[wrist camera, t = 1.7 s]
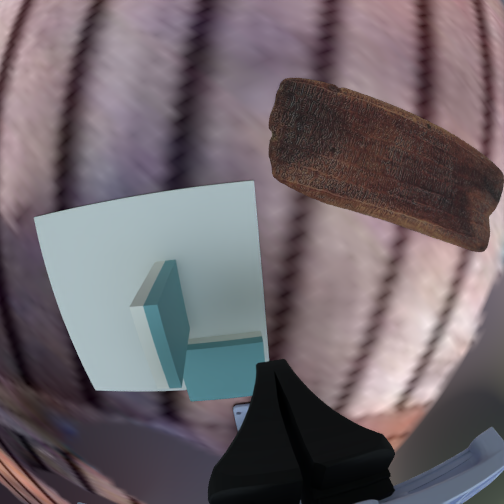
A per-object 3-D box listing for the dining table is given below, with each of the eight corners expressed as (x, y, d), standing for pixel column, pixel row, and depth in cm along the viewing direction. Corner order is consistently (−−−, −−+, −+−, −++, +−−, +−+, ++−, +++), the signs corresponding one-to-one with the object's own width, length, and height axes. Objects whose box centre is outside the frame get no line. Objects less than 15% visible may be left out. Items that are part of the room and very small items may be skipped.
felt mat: (270, 378, 26) (270, 381, 26) (96, 387, 25) (95, 390, 24) (253, 180, 20) (253, 180, 20) (36, 216, 19) (33, 217, 19)
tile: (189, 328, 23) (181, 387, 16) (171, 330, 23) (157, 388, 16) (175, 259, 21) (157, 304, 14) (155, 261, 21) (129, 306, 14)
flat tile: (265, 381, 26) (267, 393, 24) (191, 389, 25) (190, 401, 24) (260, 330, 24) (263, 341, 22) (177, 339, 23) (175, 351, 22)
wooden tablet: (253, 188, 20) (290, 50, 16) (250, 182, 22) (284, 57, 18) (486, 258, 24) (515, 176, 20) (474, 250, 26) (502, 171, 22)
